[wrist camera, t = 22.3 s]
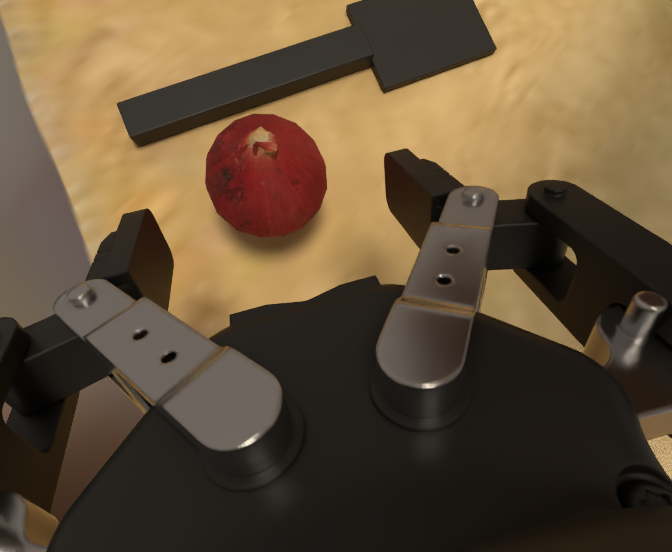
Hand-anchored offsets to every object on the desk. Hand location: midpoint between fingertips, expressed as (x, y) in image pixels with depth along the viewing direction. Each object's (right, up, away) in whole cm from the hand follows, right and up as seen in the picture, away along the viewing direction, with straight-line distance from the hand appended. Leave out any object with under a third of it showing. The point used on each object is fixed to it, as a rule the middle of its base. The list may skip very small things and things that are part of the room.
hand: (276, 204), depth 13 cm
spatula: (0, +10, +11) cm, 15 cm away
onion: (-2, +2, +10) cm, 10 cm away
